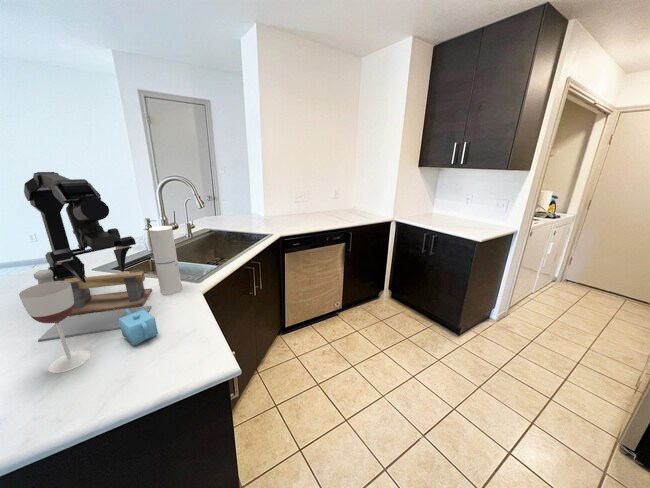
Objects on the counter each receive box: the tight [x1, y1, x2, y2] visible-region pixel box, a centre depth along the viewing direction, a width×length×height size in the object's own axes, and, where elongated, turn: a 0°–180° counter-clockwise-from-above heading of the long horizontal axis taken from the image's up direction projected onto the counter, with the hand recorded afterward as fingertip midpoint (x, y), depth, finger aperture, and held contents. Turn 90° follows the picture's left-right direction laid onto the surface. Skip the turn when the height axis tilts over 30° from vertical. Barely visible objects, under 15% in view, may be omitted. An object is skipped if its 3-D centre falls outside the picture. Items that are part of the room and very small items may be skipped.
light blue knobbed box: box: [119, 308, 159, 346], centre depth 72 cm, size 12×6×8 cm, turn 56°
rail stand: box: [67, 269, 153, 317], centre depth 88 cm, size 12×22×10 cm, turn 110°
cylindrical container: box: [148, 225, 183, 296], centre depth 95 cm, size 7×7×25 cm
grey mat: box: [37, 305, 152, 343], centre depth 78 cm, size 11×24×1 cm, turn 110°
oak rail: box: [64, 270, 146, 289], centre depth 87 cm, size 3×22×3 cm, turn 110°
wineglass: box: [18, 281, 91, 374], centre depth 60 cm, size 8×9×20 cm
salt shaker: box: [33, 268, 54, 285], centre depth 85 cm, size 6×6×13 cm
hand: (104, 276), depth 74 cm, fingers open, 9 cm apart
